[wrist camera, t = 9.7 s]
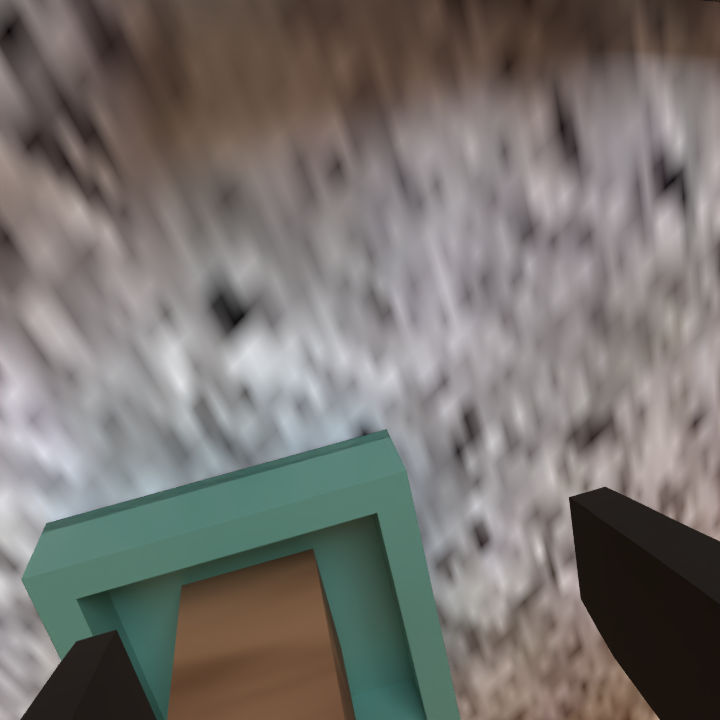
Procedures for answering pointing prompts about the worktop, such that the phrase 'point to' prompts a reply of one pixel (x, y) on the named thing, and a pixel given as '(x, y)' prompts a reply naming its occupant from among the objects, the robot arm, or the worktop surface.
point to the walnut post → (259, 647)
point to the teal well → (254, 546)
